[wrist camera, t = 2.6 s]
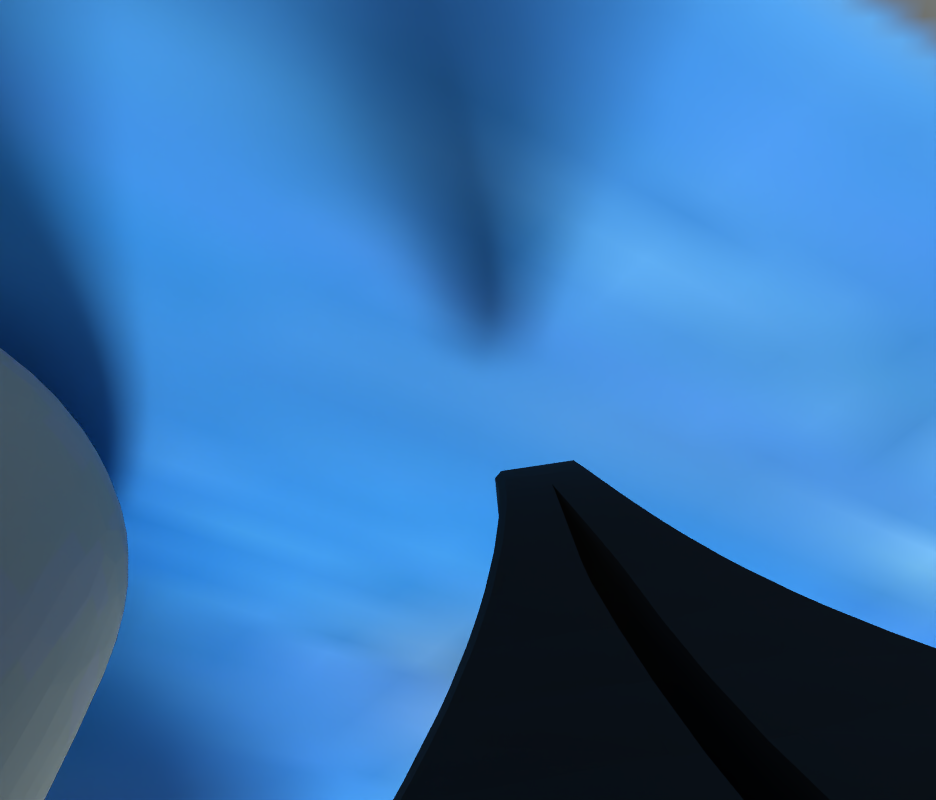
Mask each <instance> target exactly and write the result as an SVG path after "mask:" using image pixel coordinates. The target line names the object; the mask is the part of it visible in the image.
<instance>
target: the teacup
mask: <svg viewBox="0 0 936 800" xmlns="http://www.w3.org/2000/svg"><path fill="white" fill-rule="evenodd" d="M127 586H128V546H127V533H126V528H125V523H124V519H123V514H122V510H121V506H120V503H119V501H118V498H117V496H116V493H115V490H114V488H113V485H112V482H111V480H110V477H109V475H108V473H107V471H106V469H105V467H104V465H103V463H102V461H101V459H100V457H99V455H98V453H97V451H96V450H95V448H94V446H93V445H92V443H91V442H90V440H89V439H88V437H87V435H86V434H85V432H84V431H83V429H82V428H81V427H80V425H79V424H78V423H77V422H76V421H75V419H74V418H73V417H72V416H71V414H70V413H69V412H68V411H67V409H66V408H65V407H64V406H63V405H62V403H61V402H60V401H59V400H58V398H57V397H56V396H55V395H54V394H53V393H52V392H51V391H50V390H48V389H47V388H46V387H45V386H44V385H43V384H42V383H41V382H40V381H39V380H38V379H37V378H36V377H35V376H34V375H33V374H32V373H31V372H30V371H28V370H27V369H26V368H25V367H24V366H22V365H21V364H20V363H19V362H17V361H16V360H15V359H14V358H12V357H11V356H10V355H9V354H7V353H6V352H5V351H4V350H2V349H1V348H0V800H44V799H45V797H46V795H47V793H48V791H49V789H50V787H51V785H52V783H53V781H54V779H55V777H56V775H57V773H58V771H59V769H60V767H61V765H62V762H63V760H64V758H65V756H66V754H67V752H68V750H69V748H70V746H71V744H72V742H73V740H74V738H75V736H76V734H77V731H78V729H79V727H80V725H81V723H82V720H83V718H84V716H85V714H86V712H87V709H88V707H89V705H90V703H91V701H92V699H93V696H94V694H95V692H96V690H97V688H98V685H99V683H100V681H101V679H102V677H103V674H104V672H105V669H106V666H107V664H108V661H109V658H110V655H111V653H112V650H113V647H114V645H115V642H116V639H117V635H118V631H119V628H120V624H121V620H122V616H123V612H124V606H125V600H126V593H127Z"/></svg>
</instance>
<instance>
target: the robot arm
mask: <svg viewBox="0 0 936 800" xmlns="http://www.w3.org/2000/svg"><path fill="white" fill-rule="evenodd" d="M495 482H496V492H497V503H498V513H499V520H498V528H497V535H496V542H495V549H494V554H493V558H492V563H491V567H490V571H489V575H488V580H487V584H486V588H485V592H484V595H483V599H482V602H481V605H480V609H479V612H478V615H477V618H476V621H475V624H474V627H473V630H472V633H471V636H470V638H469V641H468V644H467V647H466V649H465V652H464V654H463V657H462V659H461V662H460V664H459V667H458V669H457V671H456V674H455V676H454V679H453V681H452V684H451V686H450V688H449V691H448V693H447V695H446V697H445V700H444V702H443V704H442V706H441V708H440V711H439V713H438V715H437V717H436V719H435V721H434V723H433V725H432V727H431V728H430V730H429V732H428V734H427V736H426V738H425V740H424V742H423V744H422V746H421V748H420V750H419V752H418V754H417V756H416V758H415V760H414V762H413V764H412V766H411V768H410V770H409V772H408V773H407V775H406V777H405V779H404V781H403V783H402V785H401V787H400V788H399V790H398V792H397V794H396V796H395V797H394V799H393V800H936V648H934V647H931V646H928V645H925V644H923V643H920V642H917V641H914V640H911V639H909V638H906V637H903V636H900V635H898V634H895V633H892V632H890V631H887V630H885V629H882V628H880V627H877V626H875V625H872V624H870V623H867V622H865V621H862V620H860V619H857V618H855V617H852V616H850V615H847V614H845V613H842V612H840V611H837V610H835V609H832V608H830V607H828V606H825V605H823V604H821V603H818V602H816V601H814V600H811V599H809V598H807V597H805V596H802V595H800V594H798V593H796V592H793V591H791V590H789V589H787V588H785V587H783V586H781V585H779V584H777V583H775V582H773V581H771V580H769V579H766V578H764V577H762V576H760V575H758V574H756V573H754V572H752V571H750V570H748V569H746V568H744V567H742V566H740V565H738V564H736V563H734V562H732V561H730V560H728V559H727V558H725V557H723V556H721V555H719V554H717V553H716V552H714V551H712V550H710V549H709V548H707V547H705V546H703V545H702V544H700V543H698V542H697V541H695V540H693V539H691V538H690V537H688V536H686V535H684V534H683V533H681V532H679V531H678V530H676V529H674V528H673V527H671V526H670V525H668V524H666V523H665V522H663V521H662V520H660V519H658V518H657V517H655V516H654V515H652V514H651V513H649V512H648V511H646V510H645V509H643V508H642V507H640V506H639V505H637V504H636V503H634V502H633V501H631V500H630V499H628V498H627V497H625V496H624V495H622V494H621V493H620V492H618V491H617V490H615V489H614V488H612V487H611V486H609V485H608V484H607V483H605V482H604V481H602V480H601V479H600V478H598V477H597V476H595V475H594V474H593V473H591V472H590V471H588V470H587V469H586V468H584V467H583V466H581V465H580V464H578V463H577V462H575V461H574V460H573V461H566V462H559V463H552V464H546V465H539V466H532V467H526V468H519V469H512V470H506V471H501V472H500V473H499V474H498V475H497V477H496V478H495Z"/></svg>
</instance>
